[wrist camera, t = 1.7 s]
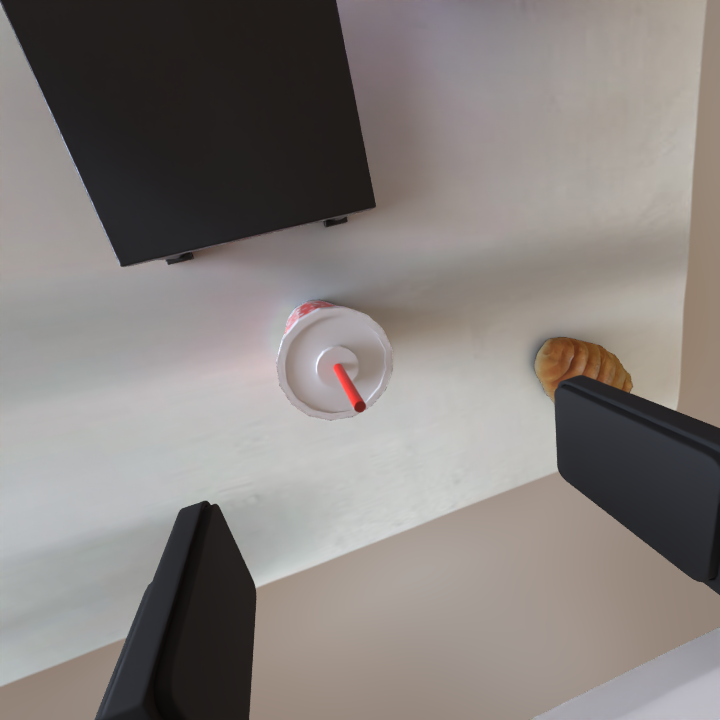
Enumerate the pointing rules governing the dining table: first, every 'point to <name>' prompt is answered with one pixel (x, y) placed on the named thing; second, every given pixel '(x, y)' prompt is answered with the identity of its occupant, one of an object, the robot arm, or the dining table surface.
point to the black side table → (200, 116)
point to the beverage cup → (333, 360)
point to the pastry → (578, 364)
